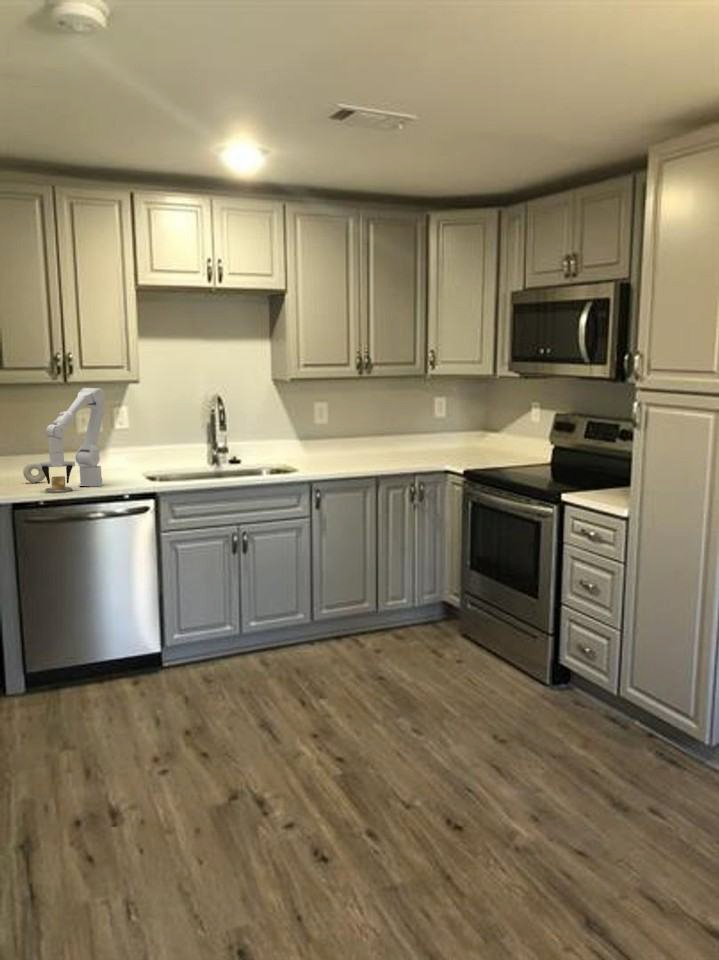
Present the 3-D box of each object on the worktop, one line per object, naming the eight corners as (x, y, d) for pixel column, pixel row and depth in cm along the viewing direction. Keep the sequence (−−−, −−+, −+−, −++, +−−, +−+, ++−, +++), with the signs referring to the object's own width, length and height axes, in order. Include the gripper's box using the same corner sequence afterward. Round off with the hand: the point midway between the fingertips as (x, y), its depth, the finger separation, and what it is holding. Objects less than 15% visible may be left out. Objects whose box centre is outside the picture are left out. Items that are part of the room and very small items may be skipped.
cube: (65, 487, 349) (64, 476, 348) (64, 489, 344) (63, 477, 343) (53, 487, 347) (52, 476, 347) (52, 489, 343) (51, 478, 342)
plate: (73, 488, 353) (72, 486, 352) (71, 492, 342) (71, 490, 342) (46, 489, 350) (46, 487, 349) (44, 493, 339) (43, 491, 339)
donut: (47, 481, 369) (46, 460, 368) (46, 483, 366) (45, 461, 365) (24, 482, 366) (22, 461, 365) (23, 484, 363) (22, 462, 362)
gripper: (37, 453, 337) (39, 485, 340) (73, 452, 341) (75, 483, 344) (39, 451, 344) (41, 482, 346) (74, 450, 348) (76, 481, 350)
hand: (58, 483), depth 345 cm, fingers open, 7 cm apart
